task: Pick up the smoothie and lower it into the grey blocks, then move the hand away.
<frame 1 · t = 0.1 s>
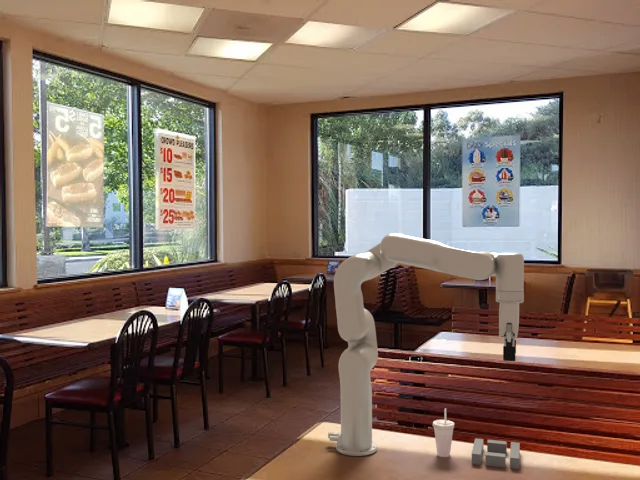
hand: (509, 357, 175), 31 cm above the table, fingers open, 9 cm apart
smoothie: (443, 455, 184), on the table
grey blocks: (496, 458, 182), on the table
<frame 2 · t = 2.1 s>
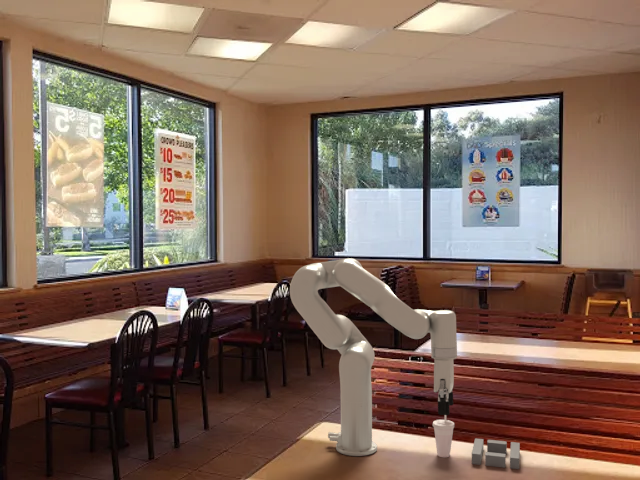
hand: (445, 409, 184), 14 cm above the table, fingers open, 9 cm apart
nothing on the table moved.
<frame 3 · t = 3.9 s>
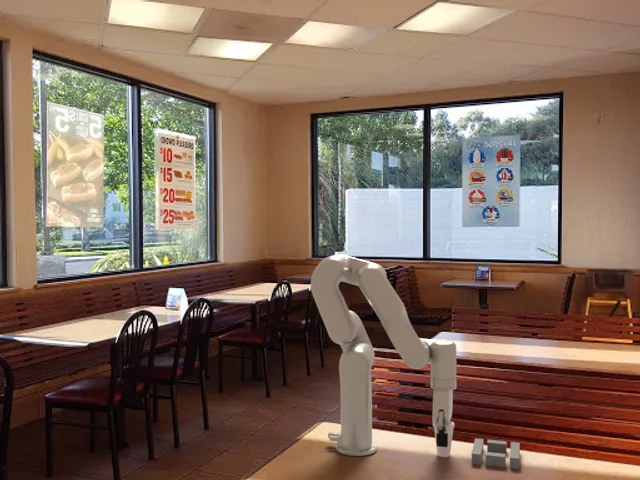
hand: (443, 441, 184), 4 cm above the table, fingers closed on smoothie, 6 cm apart
smoothie: (443, 455, 184), on the table, touching gripper
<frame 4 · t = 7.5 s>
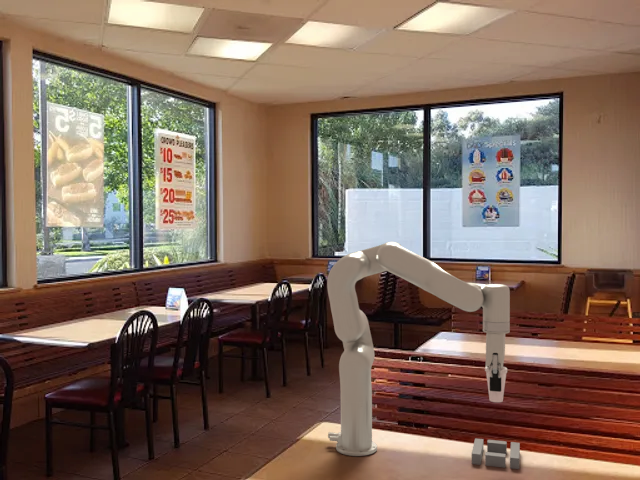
hand: (496, 387, 181), 21 cm above the table, fingers closed on smoothie, 6 cm apart
smoothie: (496, 401, 181), point 17 cm above the table, touching gripper
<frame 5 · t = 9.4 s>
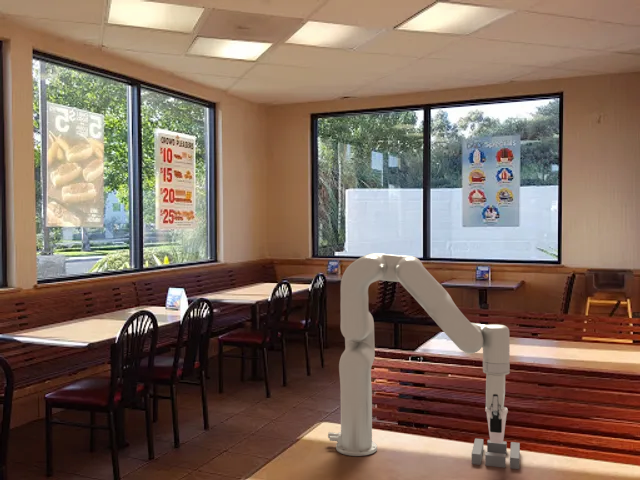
hand: (496, 427, 181), 9 cm above the table, fingers closed on smoothie, 6 cm apart
smoothie: (496, 441, 181), point 5 cm above the table, touching gripper
when the fingers open (6 cm above the table, at t = 11.1 s): smoothie drops 2 cm, resting in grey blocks.
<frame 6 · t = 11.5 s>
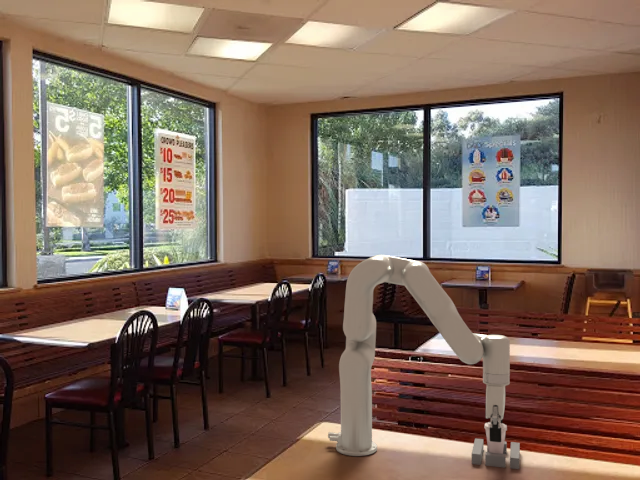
hand: (496, 435, 181), 7 cm above the table, fingers open, 9 cm apart
smoothie: (495, 458, 182), resting in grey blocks
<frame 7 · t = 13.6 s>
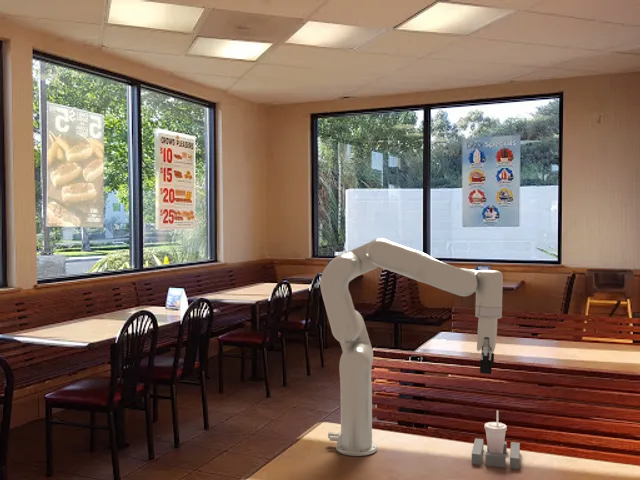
hand: (486, 369, 183), 26 cm above the table, fingers open, 9 cm apart
nothing on the table moved.
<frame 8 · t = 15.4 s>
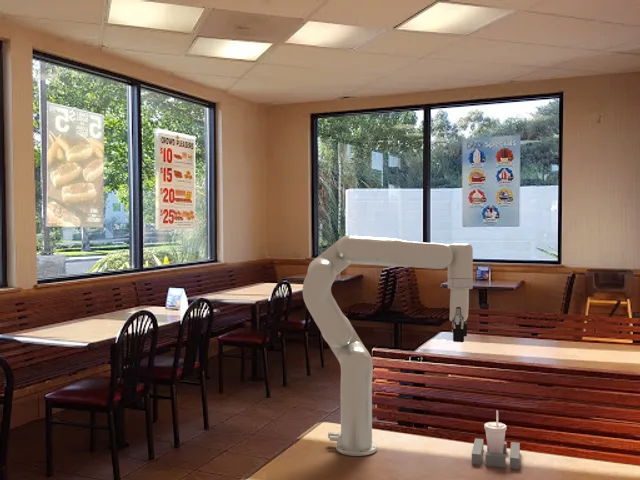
hand: (460, 338, 191), 33 cm above the table, fingers open, 9 cm apart
nothing on the table moved.
at the end: smoothie 0.2 cm off-centre on the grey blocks, point 0.0 cm above the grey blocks's base; smoothie tilted 0°; the gripper is holding nothing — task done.
